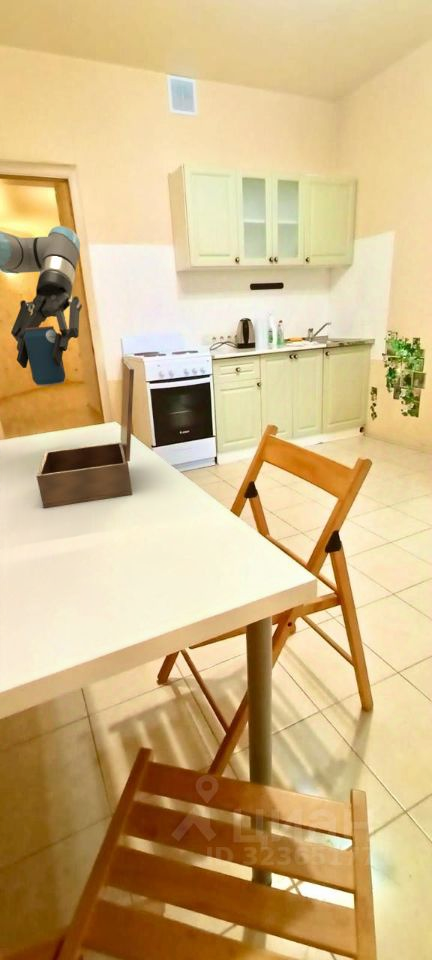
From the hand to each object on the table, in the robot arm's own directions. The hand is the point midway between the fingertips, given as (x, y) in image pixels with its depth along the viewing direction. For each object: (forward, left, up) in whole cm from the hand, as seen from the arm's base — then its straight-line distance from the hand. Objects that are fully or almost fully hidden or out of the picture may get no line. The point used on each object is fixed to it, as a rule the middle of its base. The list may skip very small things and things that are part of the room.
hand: (38, 362), depth 95 cm
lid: (+7, +16, -10) cm, 20 cm away
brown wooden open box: (+7, +6, -27) cm, 28 cm away
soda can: (-3, +1, -5) cm, 6 cm away
